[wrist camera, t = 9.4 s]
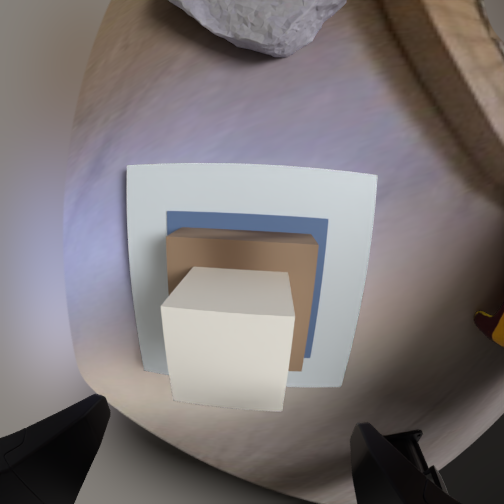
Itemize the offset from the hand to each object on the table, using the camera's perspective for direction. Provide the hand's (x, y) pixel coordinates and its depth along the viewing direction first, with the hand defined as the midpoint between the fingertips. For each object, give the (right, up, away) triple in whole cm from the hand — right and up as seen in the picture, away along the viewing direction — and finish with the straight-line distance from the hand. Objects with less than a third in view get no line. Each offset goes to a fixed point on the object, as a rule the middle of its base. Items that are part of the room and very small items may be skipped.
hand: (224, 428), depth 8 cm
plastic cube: (0, +3, +7) cm, 8 cm away
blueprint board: (0, +4, +11) cm, 12 cm away
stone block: (+1, +25, +6) cm, 25 cm away
